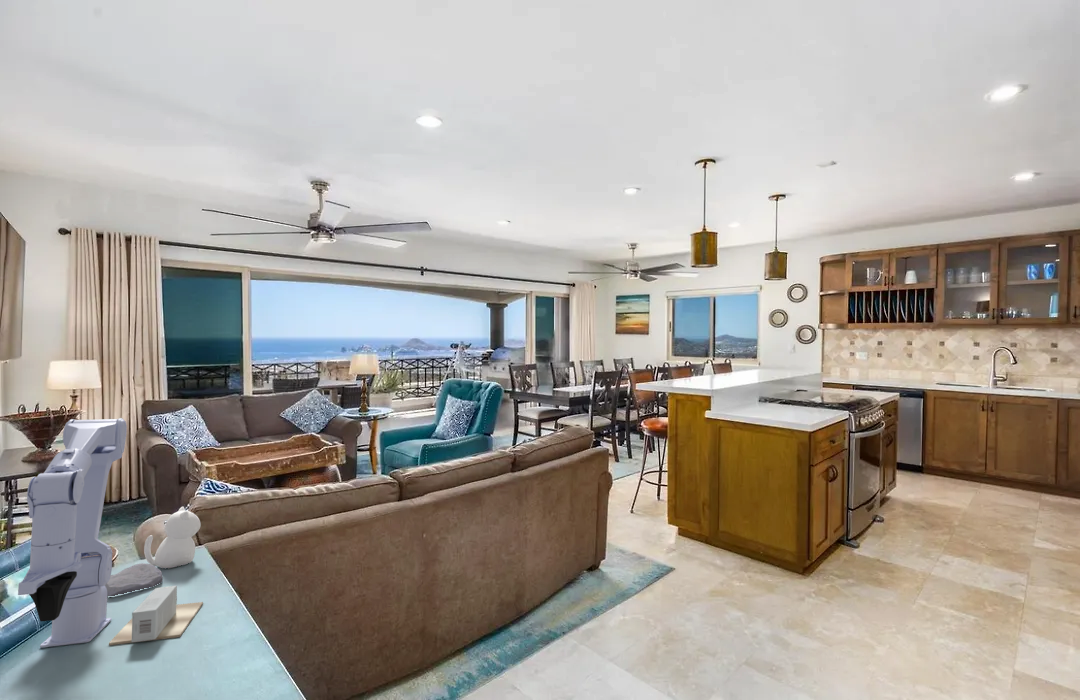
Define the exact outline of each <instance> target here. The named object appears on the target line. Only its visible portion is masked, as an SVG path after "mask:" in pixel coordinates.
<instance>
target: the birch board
mask: <svg viewBox="0 0 1080 700" xmlns="http://www.w3.org/2000/svg"><path fill="white" fill-rule="evenodd" d="M203 604H204V602H203V601H199V602H190V603H180V604H178V603H177V606H176V613H175V615H174V616H173V617H172V619H171V620H170V621H169V622H168V624H167V625H166V626H165V628H164V629H163V630H162V632H161V633H160V634H159V635H158V637H157V638H156V639H153V640H146V641H145V642H151V641H157V640H158V641H159V640H165V639H174V638H175V639H176V638H180V637H182V635H183V633H184V632H185V630H186V629H187V627H189V625H190V623H191V622H192V621H193V619H194V617H196V615H197V614H198V612H199V610H200V609H201V608H202V607H203ZM131 640H132V618H131V619H129V621H128V622H127V623H126V624H125V625H124V626H123V627H122V628H121V629H120V630H119V632H117V634H116V635H115V636H114V637H113V638H112V639H111V640H109V642H108V646H114V645H115V646H117V645H124V644H131V643H133V644H134V643H135V642H131ZM140 642H141V643H142V642H143V641H138V642H137V643H140Z"/></svg>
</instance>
